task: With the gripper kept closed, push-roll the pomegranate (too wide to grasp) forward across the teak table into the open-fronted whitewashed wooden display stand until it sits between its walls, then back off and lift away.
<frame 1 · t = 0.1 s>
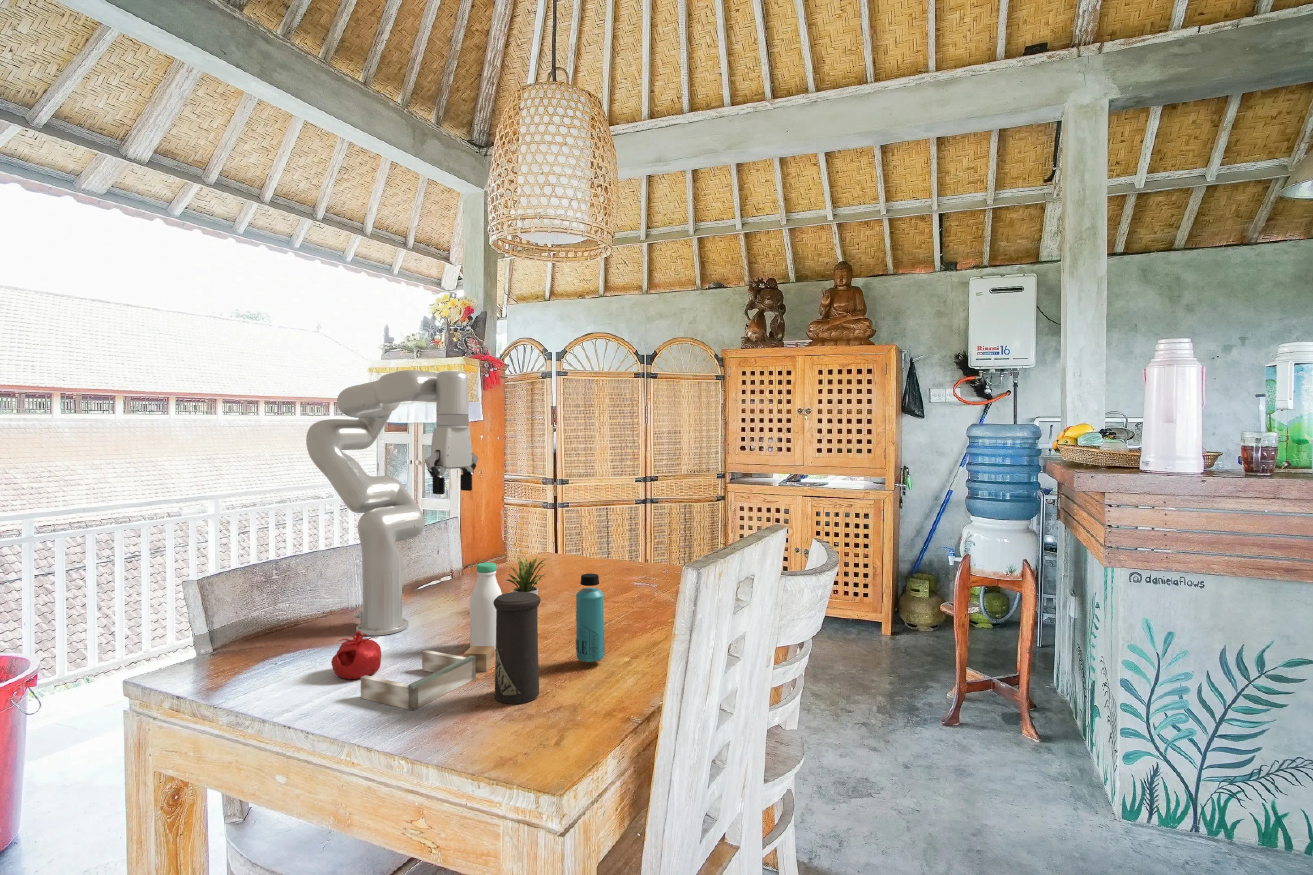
hand: (452, 492, 160), 37 cm above the table, tool pointing down, fingers open, 9 cm apart
pomegranate: (357, 674, 139), on the table
teak block: (479, 667, 143), on the table
beverage bottle: (590, 664, 145), on the table
milk bottle: (486, 648, 156), on the table
display stand: (421, 687, 132), on the table
house plant: (530, 611, 187), on the table
container: (517, 696, 128), on the table
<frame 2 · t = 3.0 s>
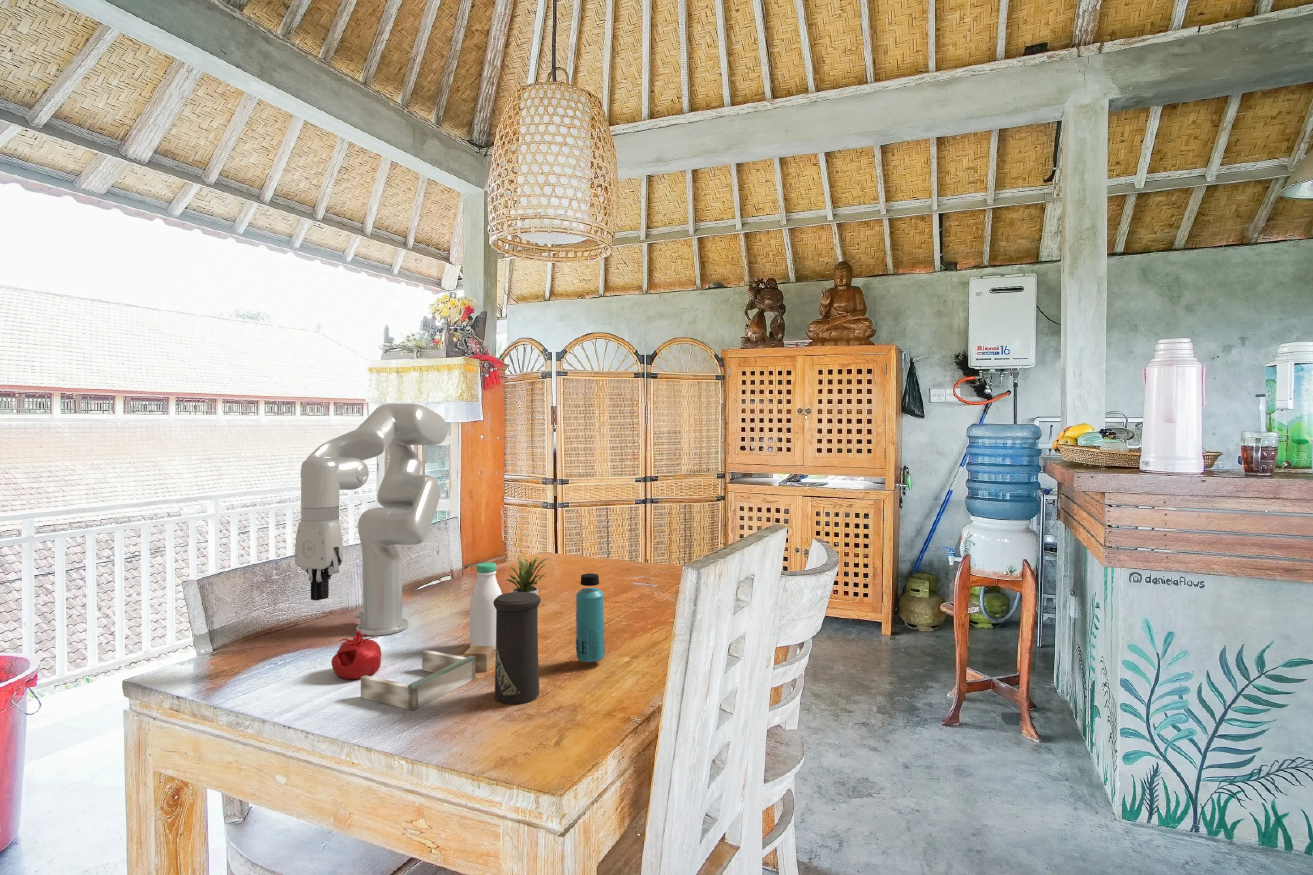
hand: (319, 598, 143), 15 cm above the table, tool pointing down, fingers closed
nothing on the table moved.
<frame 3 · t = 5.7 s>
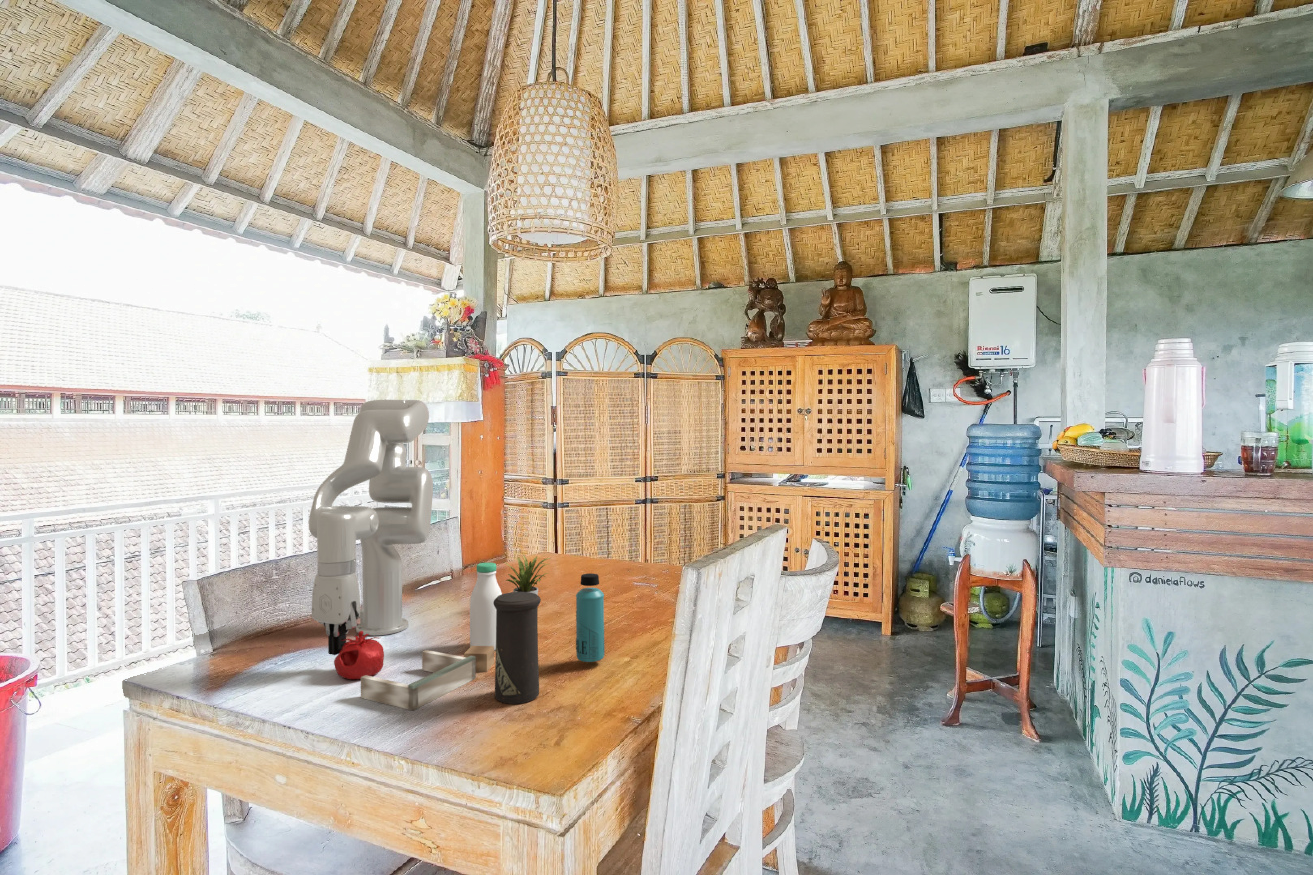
hand: (337, 652, 142), 4 cm above the table, tool pointing down, fingers closed
pomegranate: (360, 675, 139), on the table, touching gripper
everything else where it was.
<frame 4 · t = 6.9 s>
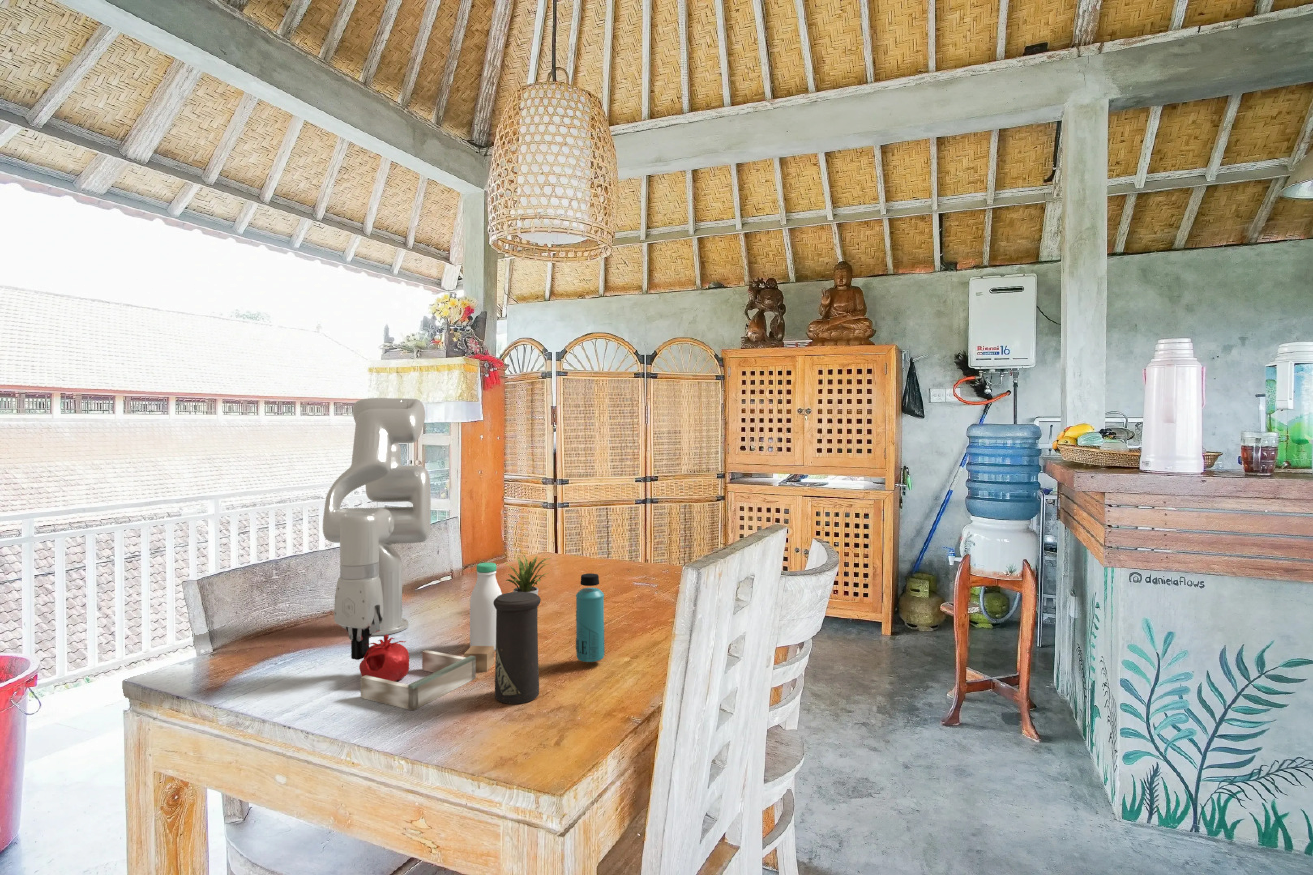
hand: (360, 657, 139), 4 cm above the table, tool pointing down, fingers closed
pomegranate: (385, 679, 136), on the table, touching gripper
everything else where it was.
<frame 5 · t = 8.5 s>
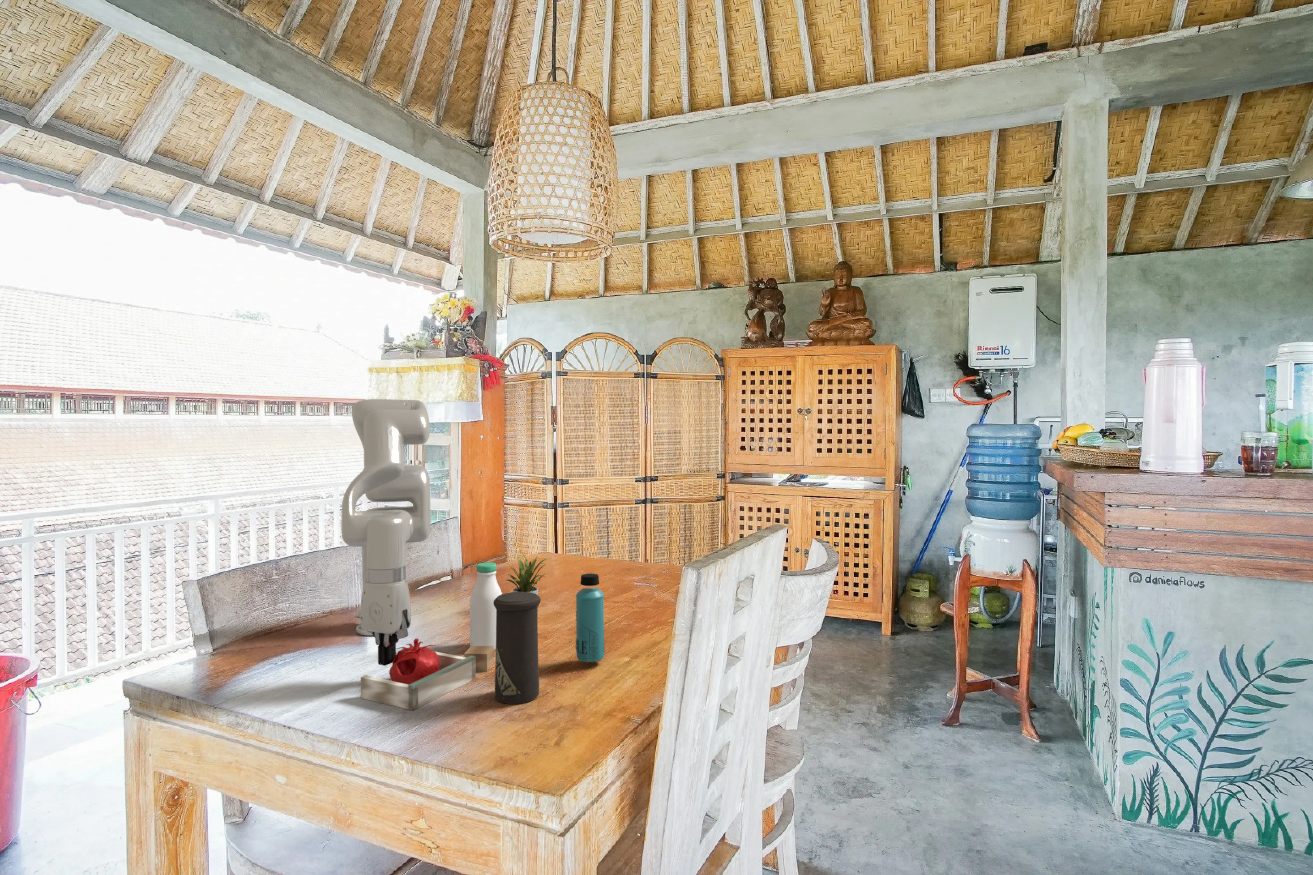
hand: (387, 662, 136), 4 cm above the table, tool pointing down, fingers closed
pomegranate: (414, 684, 134), on the table, touching gripper
everything else where it was.
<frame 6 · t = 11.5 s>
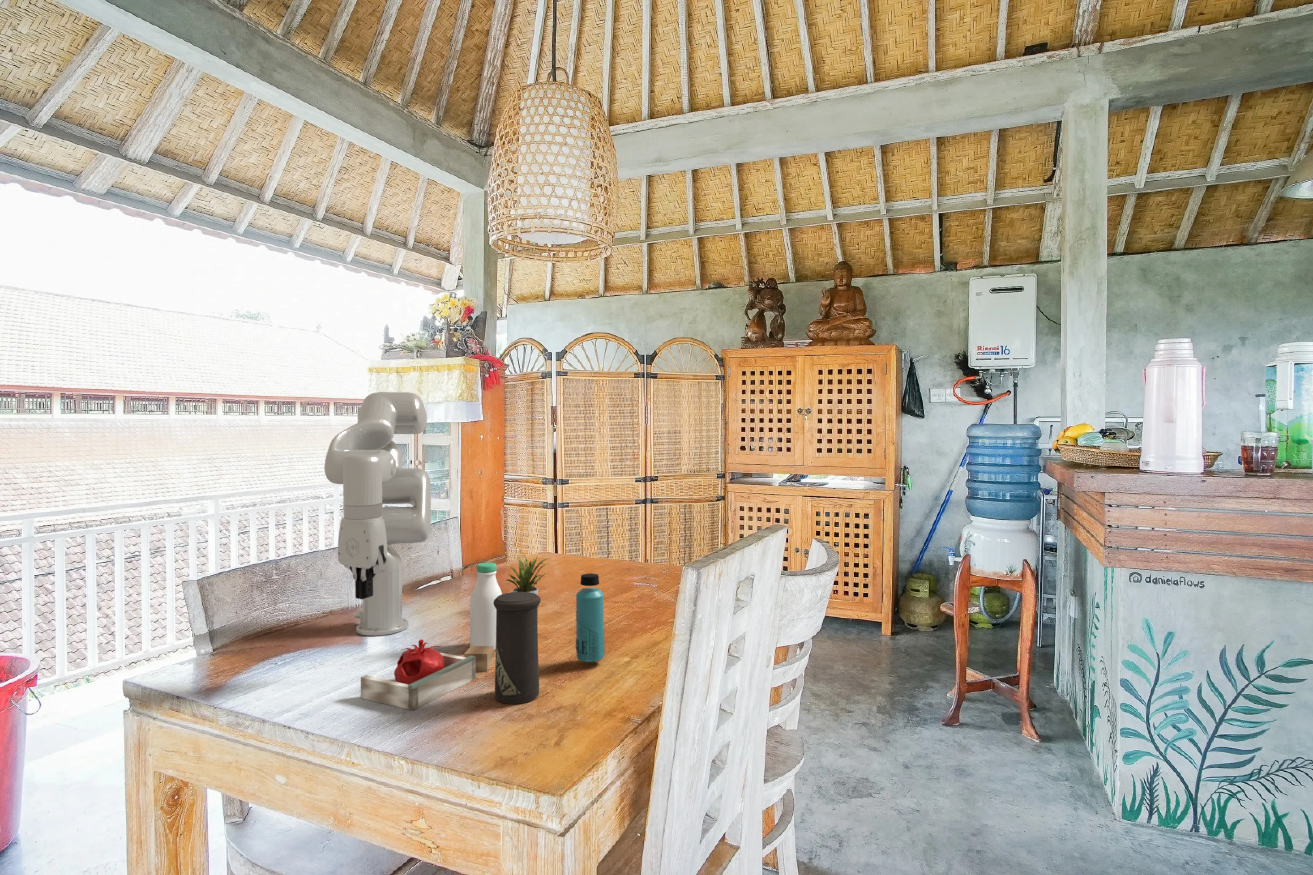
hand: (364, 597, 139), 16 cm above the table, tool pointing down, fingers closed
pomegranate: (419, 685, 134), on the table
everything else where it was.
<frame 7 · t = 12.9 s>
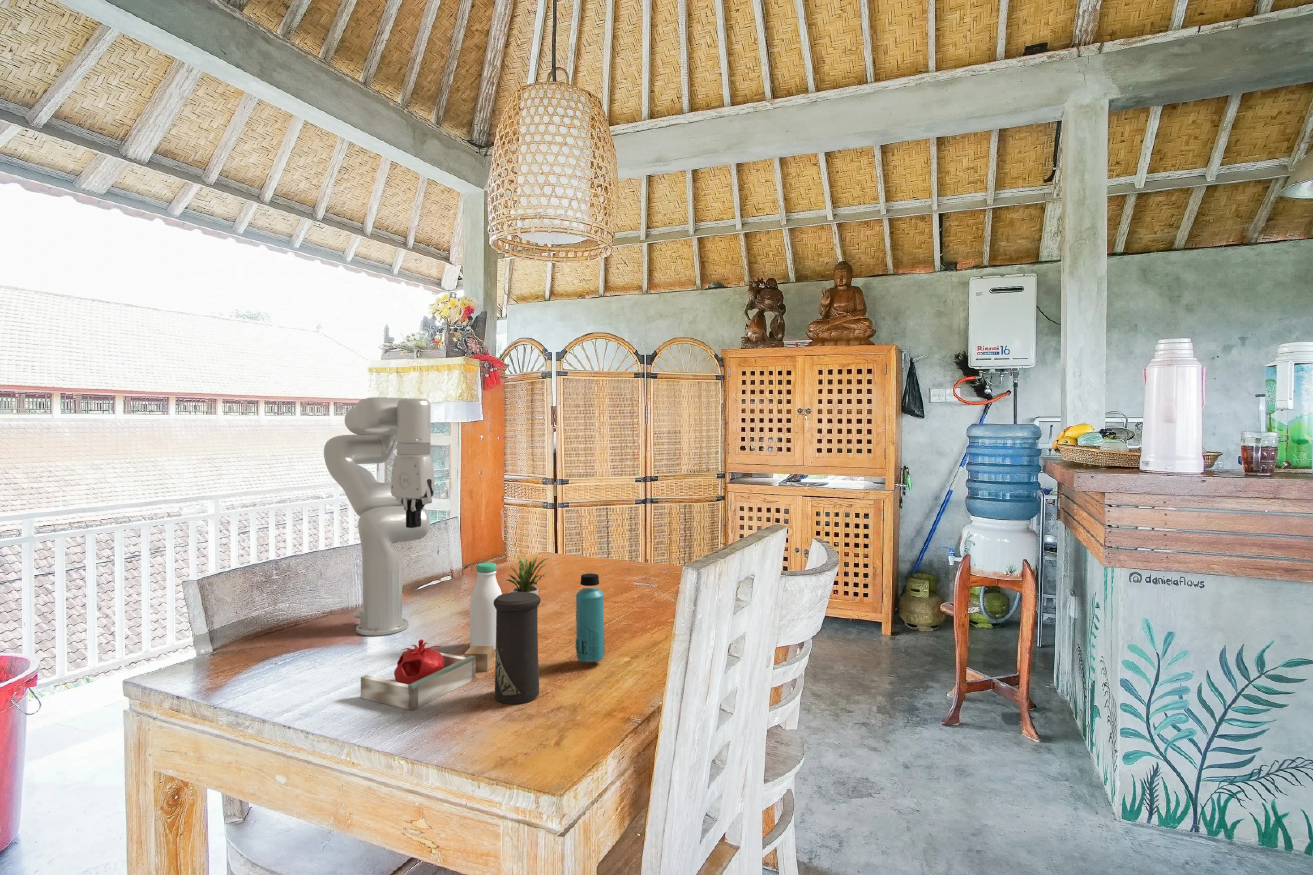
hand: (413, 526, 156), 29 cm above the table, tool pointing down, fingers closed
nothing on the table moved.
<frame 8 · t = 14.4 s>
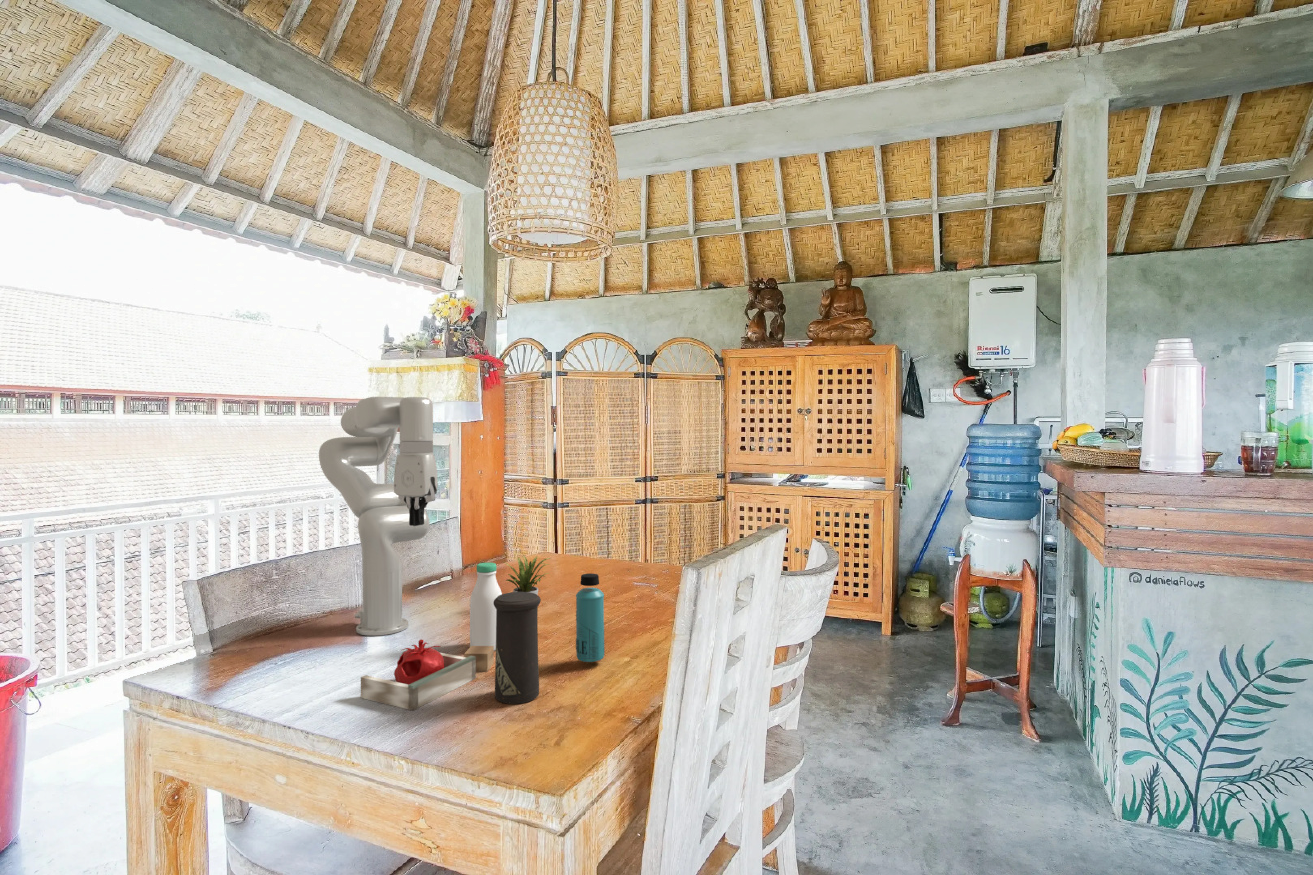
hand: (416, 524, 157), 29 cm above the table, tool pointing down, fingers closed
nothing on the table moved.
at the end: pomegranate inside the target area on the display stand (1.3 cm from its centre), point 0.0 cm above the display stand's base; pomegranate moved 16.4 cm from its start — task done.
